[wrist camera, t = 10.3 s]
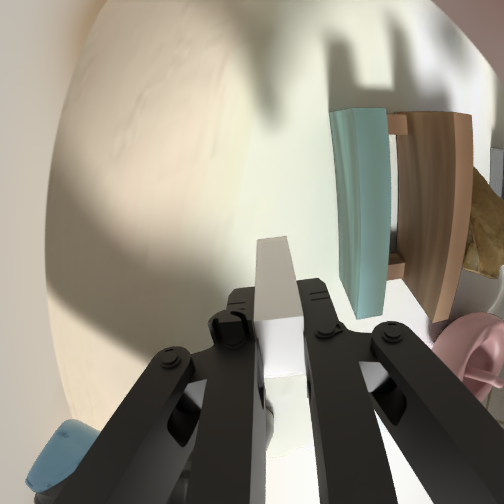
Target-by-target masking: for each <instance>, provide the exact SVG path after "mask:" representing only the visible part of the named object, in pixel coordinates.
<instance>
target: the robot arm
mask: <svg viewBox="0 0 504 504" xmlns="http://www.w3.org/2000/svg"><path fill="white" fill-rule="evenodd" d="M208 326H209V330H210V333H211V336H212V339H213V342H214V345H213V346H212V347H211V348H209V349H207V350H204V351H201V352H198V353H194V354H190V353H189V352H188V351H187V350H186V349H185V348H182V347H169V348H165V349H164V350H162V351H160V352H158V353H157V354H156V355H155V356H154V358H153V359H152V360H151V362H150V363H149V365H148V366H147V367H146V369H145V370H144V372H143V373H142V374H141V376H140V377H139V379H138V380H137V381H136V383H135V384H134V386H133V387H132V388H131V390H130V391H129V393H128V394H127V395H126V397H125V398H124V400H123V401H122V403H121V404H120V405H119V407H118V408H117V410H116V411H115V412H114V414H113V415H112V417H111V418H110V420H109V421H108V422H107V424H106V425H105V427H104V428H103V430H102V431H101V432H100V431H98V430H96V429H94V428H92V427H90V426H89V425H87V424H85V423H83V422H81V421H79V420H75V419H70V420H66V421H64V422H63V423H62V424H61V426H60V427H59V428H58V429H57V430H56V432H55V433H54V434H53V436H52V437H51V438H50V440H49V441H48V443H47V444H46V446H45V447H44V449H43V450H42V452H41V453H40V455H39V456H38V458H37V459H36V461H35V463H34V464H33V466H32V468H31V470H30V472H29V473H28V476H27V479H26V480H25V483H26V485H27V486H28V487H29V488H30V489H31V490H32V491H33V492H36V494H35V498H34V504H265V483H266V482H265V481H266V480H265V479H266V477H265V475H266V450H267V448H268V446H269V443H270V441H271V438H272V436H273V432H274V418H273V415H272V413H271V412H270V411H269V410H268V409H267V408H266V390H265V385H264V377H265V378H274V377H284V376H293V375H301V374H306V375H307V398H309V405H310V413H311V421H312V429H313V438H314V446H315V456H316V465H317V475H318V486H319V497H320V504H398V501H397V497H396V492H395V487H394V483H393V479H392V474H391V470H390V466H389V462H388V458H387V454H386V451H385V448H384V443H383V440H382V436H381V432H380V429H379V425H378V422H377V418H376V415H375V412H374V410H375V411H376V413H377V414H378V416H379V417H380V419H381V421H382V422H383V424H384V425H385V427H386V428H387V430H388V431H389V433H390V434H391V436H392V438H393V439H394V441H395V442H396V444H397V445H398V447H399V448H400V450H401V451H402V453H403V455H404V457H405V458H406V460H407V461H408V463H409V465H410V466H411V468H412V469H413V471H414V472H415V474H416V476H417V477H418V479H419V480H420V482H421V484H422V485H423V487H424V489H425V490H426V492H427V493H428V495H429V497H430V498H431V500H432V502H433V503H434V504H504V429H503V428H502V427H501V426H500V424H499V423H498V422H497V421H496V420H495V419H494V417H493V416H492V415H491V414H490V413H489V412H488V410H487V409H486V408H485V407H484V406H483V405H482V404H481V402H480V401H479V400H478V399H477V398H476V397H475V396H474V395H473V393H472V392H471V391H470V390H469V389H468V388H467V387H466V386H465V385H464V384H463V383H462V381H461V380H460V379H459V378H458V377H457V376H456V375H455V374H454V373H453V372H452V371H451V370H450V369H449V368H448V367H447V366H446V365H445V363H444V362H443V361H442V360H441V359H440V358H439V357H438V356H437V355H436V354H435V353H434V352H433V351H432V350H431V349H430V348H429V347H428V346H427V345H426V344H425V343H424V342H423V341H422V340H421V339H420V338H419V337H418V336H417V335H416V334H415V333H414V332H413V331H412V330H411V329H410V328H409V327H407V326H406V325H404V324H403V323H399V322H396V321H387V322H383V323H380V324H379V325H377V326H376V327H375V328H374V330H373V331H372V333H361V332H354V331H351V330H348V329H347V328H346V327H345V325H344V324H343V323H342V322H340V321H339V320H338V317H337V314H336V311H335V308H334V306H333V303H332V300H331V298H330V295H329V292H328V290H327V287H326V284H325V283H324V282H323V281H321V280H320V279H319V278H313V279H305V280H298V281H296V277H295V272H294V268H293V263H292V259H291V254H290V250H289V245H288V241H287V237H286V236H282V237H274V238H266V239H258V240H257V252H256V277H255V287H246V288H237V289H234V290H233V291H232V293H231V294H230V295H229V297H228V303H227V308H226V310H223V311H221V312H219V313H217V314H215V315H214V316H213V317H211V318H210V320H209V322H208Z"/></svg>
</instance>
